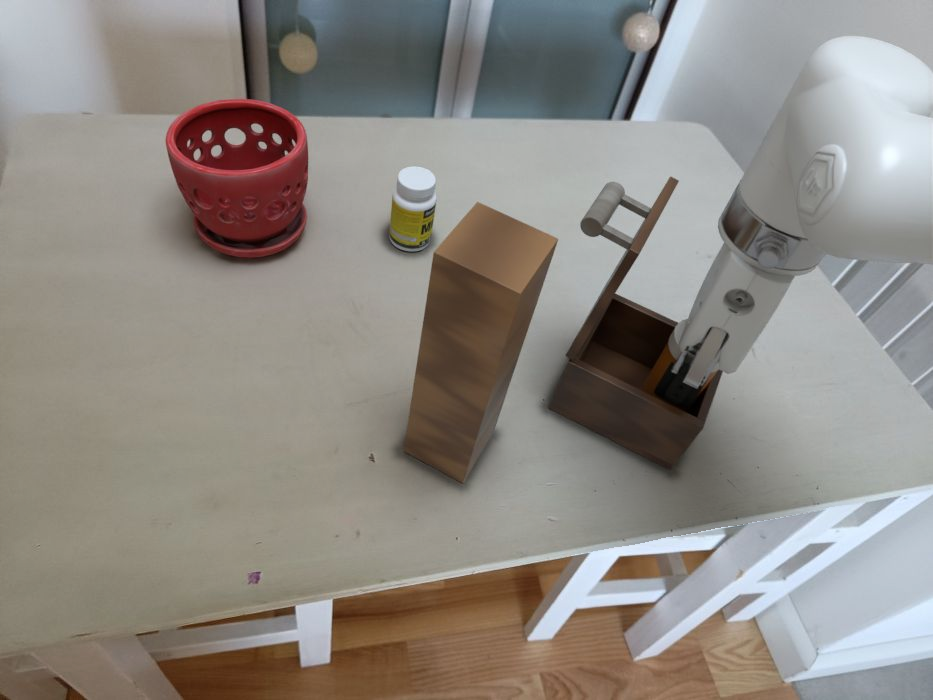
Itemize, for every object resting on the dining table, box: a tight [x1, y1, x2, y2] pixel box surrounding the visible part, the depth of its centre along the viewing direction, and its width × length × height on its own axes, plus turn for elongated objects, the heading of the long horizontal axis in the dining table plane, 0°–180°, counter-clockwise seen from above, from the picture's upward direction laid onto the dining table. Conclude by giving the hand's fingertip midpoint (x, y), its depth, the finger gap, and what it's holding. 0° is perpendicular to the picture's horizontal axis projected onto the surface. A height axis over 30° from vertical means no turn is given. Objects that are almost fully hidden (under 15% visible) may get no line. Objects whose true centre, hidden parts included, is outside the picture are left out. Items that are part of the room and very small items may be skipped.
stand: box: [403, 201, 559, 484], centre depth 53 cm, size 6×6×24 cm
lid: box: [565, 176, 680, 360], centre depth 58 cm, size 14×11×5 cm
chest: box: [547, 292, 724, 471], centre depth 65 cm, size 13×11×7 cm
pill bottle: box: [643, 318, 720, 413], centre depth 61 cm, size 5×5×8 cm
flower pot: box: [165, 98, 309, 259], centre depth 70 cm, size 13×13×12 cm
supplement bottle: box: [388, 166, 438, 252], centre depth 74 cm, size 5×5×8 cm
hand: (679, 376), depth 62 cm, fingers closed on pill bottle, 4 cm apart
